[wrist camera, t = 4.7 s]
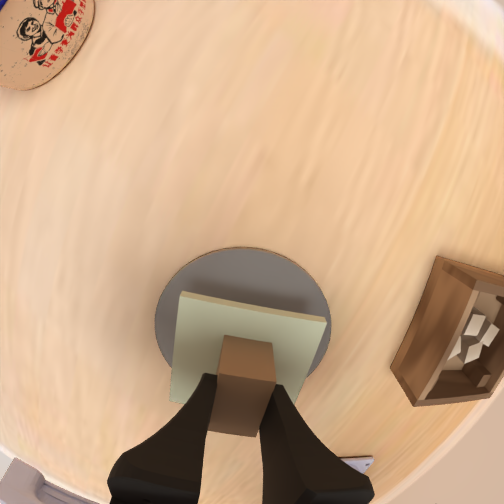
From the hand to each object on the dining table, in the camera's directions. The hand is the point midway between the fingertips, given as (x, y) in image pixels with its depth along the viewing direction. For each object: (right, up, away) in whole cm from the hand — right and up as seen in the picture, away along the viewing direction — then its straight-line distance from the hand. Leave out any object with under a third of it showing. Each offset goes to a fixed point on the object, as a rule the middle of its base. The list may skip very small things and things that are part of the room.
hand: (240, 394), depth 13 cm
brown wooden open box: (+16, +1, +6) cm, 17 cm away
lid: (0, +1, +3) cm, 3 cm away
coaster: (0, +2, +6) cm, 6 cm away
